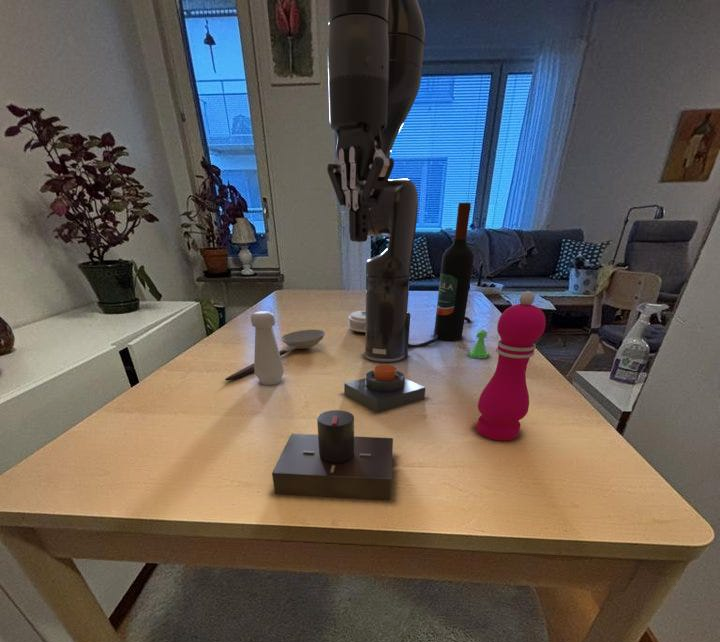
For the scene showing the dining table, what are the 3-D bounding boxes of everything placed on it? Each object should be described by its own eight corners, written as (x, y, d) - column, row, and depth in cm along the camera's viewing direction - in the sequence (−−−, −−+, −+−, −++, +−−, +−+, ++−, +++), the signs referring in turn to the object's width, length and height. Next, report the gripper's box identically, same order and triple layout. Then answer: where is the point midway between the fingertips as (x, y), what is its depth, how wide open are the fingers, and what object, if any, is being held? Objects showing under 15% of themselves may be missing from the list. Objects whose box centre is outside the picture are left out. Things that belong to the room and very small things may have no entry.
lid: (398, 327, 116) (399, 309, 113) (382, 338, 106) (383, 318, 104) (359, 323, 120) (359, 305, 117) (340, 332, 111) (340, 314, 108)
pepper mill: (514, 447, 57) (553, 298, 46) (466, 434, 61) (492, 292, 49) (526, 428, 62) (563, 289, 51) (481, 417, 66) (507, 285, 54)
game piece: (491, 356, 93) (496, 330, 90) (479, 359, 91) (483, 332, 88) (477, 352, 96) (481, 326, 93) (465, 355, 94) (469, 328, 91)
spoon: (334, 342, 100) (333, 330, 98) (248, 390, 76) (244, 375, 75) (299, 340, 105) (297, 329, 103) (208, 385, 81) (204, 371, 79)
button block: (390, 382, 79) (391, 362, 76) (424, 398, 72) (426, 377, 70) (344, 394, 73) (343, 373, 71) (376, 413, 67) (377, 390, 64)
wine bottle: (464, 341, 104) (485, 202, 87) (435, 340, 104) (451, 202, 87) (458, 333, 110) (477, 203, 93) (431, 333, 110) (445, 203, 94)
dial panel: (391, 456, 55) (393, 436, 53) (390, 500, 47) (391, 478, 45) (293, 452, 56) (291, 432, 54) (274, 493, 48) (271, 471, 46)
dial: (321, 445, 51) (318, 407, 48) (354, 445, 51) (354, 407, 48) (317, 462, 48) (314, 423, 45) (353, 463, 48) (353, 423, 45)
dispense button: (386, 372, 73) (387, 363, 72) (400, 378, 70) (401, 369, 69) (369, 376, 71) (369, 367, 70) (382, 383, 68) (383, 373, 67)
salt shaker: (278, 387, 76) (270, 316, 69) (251, 385, 77) (240, 315, 70) (289, 377, 81) (282, 309, 73) (263, 375, 82) (253, 308, 74)
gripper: (416, 72, 46) (406, 242, 56) (352, 93, 55) (353, 238, 65) (365, 60, 43) (364, 245, 53) (305, 85, 52) (314, 239, 62)
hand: (358, 241), depth 59 cm, fingers closed
